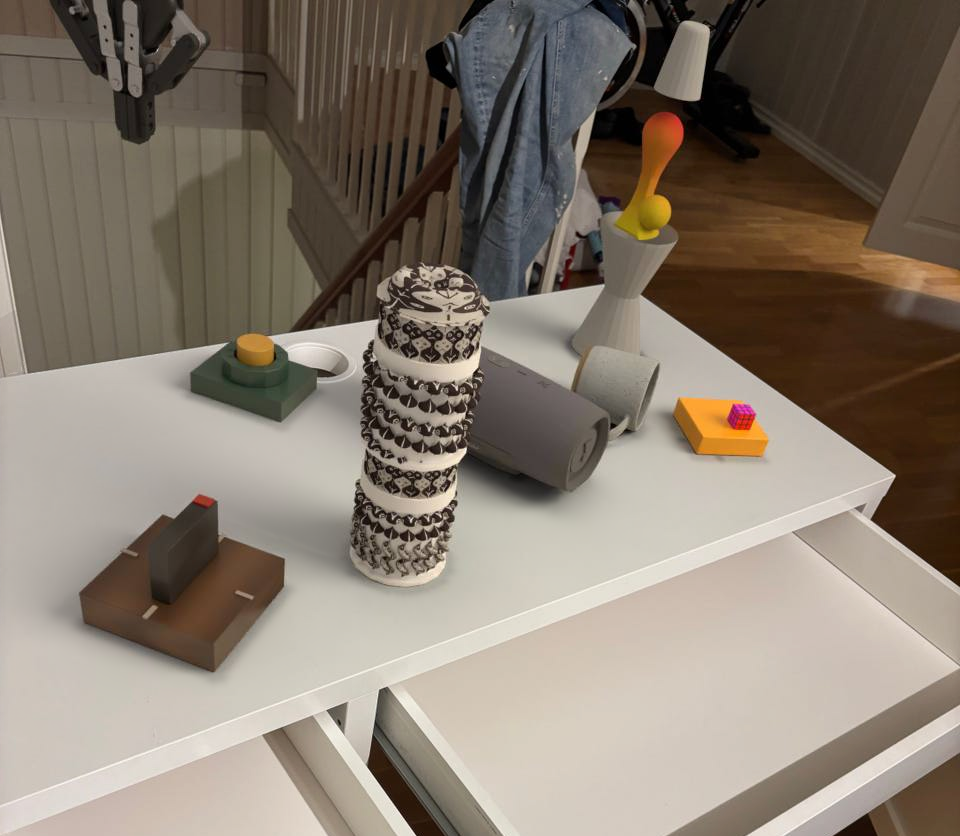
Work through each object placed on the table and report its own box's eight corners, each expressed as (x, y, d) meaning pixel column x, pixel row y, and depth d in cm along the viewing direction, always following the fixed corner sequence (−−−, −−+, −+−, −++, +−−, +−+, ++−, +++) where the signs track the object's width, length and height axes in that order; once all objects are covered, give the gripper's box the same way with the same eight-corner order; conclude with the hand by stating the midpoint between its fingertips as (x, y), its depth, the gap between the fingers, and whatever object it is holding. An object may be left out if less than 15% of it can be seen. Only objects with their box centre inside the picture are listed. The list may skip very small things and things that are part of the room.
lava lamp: (555, 339, 120) (632, 10, 96) (605, 326, 125) (691, 10, 101) (606, 374, 115) (701, 38, 91) (656, 359, 120) (758, 37, 96)
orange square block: (696, 454, 105) (709, 420, 103) (672, 414, 111) (683, 380, 108) (762, 456, 107) (776, 423, 105) (735, 417, 113) (748, 384, 110)
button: (230, 360, 97) (229, 344, 95) (248, 345, 99) (248, 329, 98) (262, 371, 96) (263, 355, 95) (280, 356, 99) (280, 340, 97)
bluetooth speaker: (599, 480, 99) (625, 392, 92) (552, 519, 92) (577, 429, 86) (420, 388, 106) (432, 301, 99) (366, 419, 100) (375, 328, 93)
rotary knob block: (81, 622, 73) (76, 591, 71) (164, 541, 81) (162, 511, 79) (215, 673, 72) (214, 643, 69) (286, 586, 80) (287, 556, 77)
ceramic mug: (580, 389, 111) (596, 327, 106) (648, 412, 110) (668, 350, 105) (552, 432, 104) (567, 367, 99) (624, 457, 103) (644, 393, 97)
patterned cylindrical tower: (331, 575, 82) (355, 289, 64) (360, 512, 88) (388, 238, 71) (438, 600, 81) (489, 321, 64) (458, 536, 88) (509, 267, 71)
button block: (190, 392, 98) (189, 355, 95) (231, 359, 104) (230, 324, 101) (280, 423, 97) (281, 387, 94) (316, 388, 102) (318, 353, 100)
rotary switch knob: (170, 604, 72) (166, 549, 68) (151, 597, 72) (146, 542, 68) (219, 552, 77) (217, 498, 73) (201, 545, 77) (198, 491, 73)
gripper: (5, -140, 67) (37, 127, 79) (179, -87, 66) (184, 177, 78) (72, -145, 72) (92, 106, 84) (233, -97, 71) (230, 152, 83)
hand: (136, 139), depth 81 cm, fingers closed
